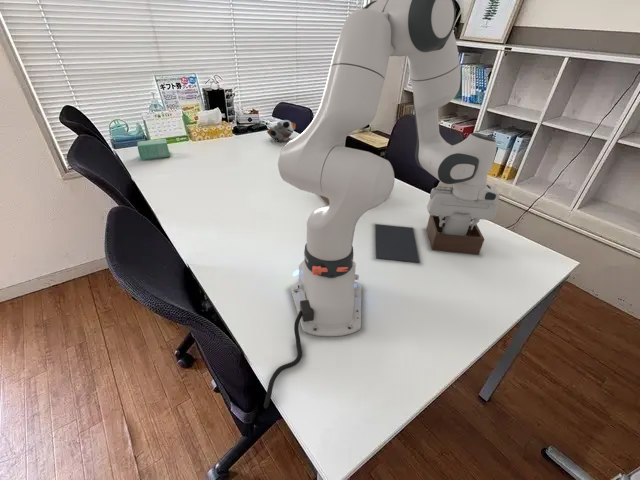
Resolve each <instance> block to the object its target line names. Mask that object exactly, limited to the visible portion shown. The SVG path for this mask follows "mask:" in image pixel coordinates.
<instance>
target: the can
mask: <svg viewBox="0 0 640 480" xmlns="http://www.w3.org/2000/svg"><path fill="white" fill-rule="evenodd" d="M469 215H470V214H468V215H460V214H457V213H454V214H453V215H451V216H446V218H445V223H446V224H445V227H443V229H442V232H440V234H449V235H459V236H467V235H466V234H467V231H468V228H469V225H470V222H471V219H472V218H471V217H470V216H469Z"/></svg>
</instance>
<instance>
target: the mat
mask: <svg viewBox="0 0 640 480" xmlns="http://www.w3.org/2000/svg"><path fill="white" fill-rule="evenodd" d="M374 228H375V259H376V260H386V261H387V260H388V261H395V262H407V263H416V264H420V256H419V253H418V247H417V243H416V238H415V233H414V228H413V227H409V226H400V225H389V224H377V223H375V225H374Z"/></svg>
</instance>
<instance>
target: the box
mask: <svg viewBox="0 0 640 480" xmlns="http://www.w3.org/2000/svg"><path fill="white" fill-rule="evenodd" d="M136 143H137V152H138V155H139V158H140V159H141V160H142V161H145V160H147V161H148V160H154V159H161V158H169V157H170V158H171V154H170V150H169V146H168V142H167V138H158V139H148V140H139V141H137V142H136Z"/></svg>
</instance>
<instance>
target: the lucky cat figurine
mask: <svg viewBox="0 0 640 480" xmlns="http://www.w3.org/2000/svg"><path fill="white" fill-rule="evenodd" d="M295 130H296V122H292V121H291V120H288V119H283V120H280V121H278V122H276V124H275V125H273V126H271V127H270V128H268V129H267V131H266V133H267V134H268V135H269V137H270V138H271V139H272V140H275V141H277V142H278V143H281V142H287V141H288V140H289V138H290V137H291V136H292V135H293V133H294V131H295Z"/></svg>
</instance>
